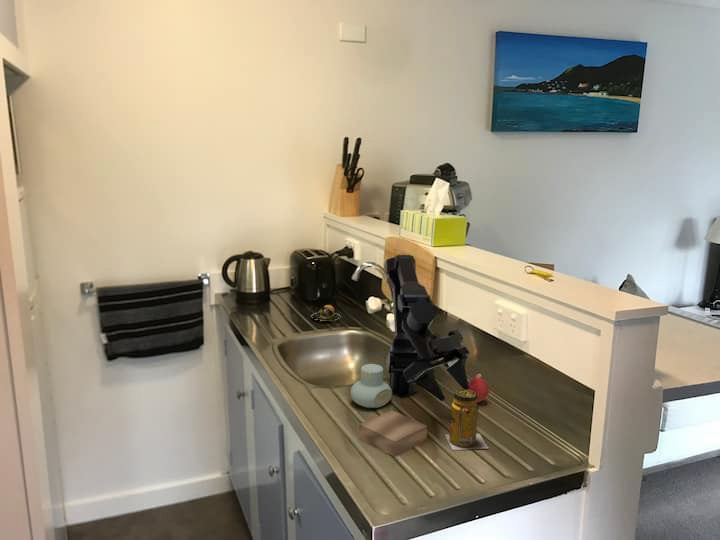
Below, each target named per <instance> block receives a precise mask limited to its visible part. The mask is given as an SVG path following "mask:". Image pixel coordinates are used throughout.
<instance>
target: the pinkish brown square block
mask: <svg viewBox="0 0 720 540" xmlns="http://www.w3.org/2000/svg"><path fill="white" fill-rule="evenodd" d="M358 427H359V433H358V435H359V436H358V439H359V440H360V441H363V442H365V443H367V444H369V445H371V446H373V447H375V448H376V449H379V450H381V451H382V452H384V453H387V454H388V455H390V456H392V457H394V458H395V457H397V456H399V455H401V454H404V453H405V452H407V451H409V450H411V449H414V447H417V446H418V445H420V444H423V443H424V442H426V441H427V437H428V436H427V435H428V426H427V425H426V424H423V423H421V422H419V421H417V420H415V419H412V418H410V417H407V416H405V415H404V414H402V413H399V412H397V411H394V410H393V409H392V410H389V411H387V412H384V413H382V414H380V415H377V416H375V417H373V418H370V419H368V420H365V421H364V422H360V423H359V426H358Z"/></svg>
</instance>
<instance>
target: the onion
mask: <svg viewBox="0 0 720 540" xmlns="http://www.w3.org/2000/svg"><path fill="white" fill-rule="evenodd" d="M468 385H469V389H468V390H470V391H473V392H475V393H476V394H477V404H478V403H480V402H481V401H484V400H485V399H486V398H487V397H488V396H489V392H490V391H489V389H490V388H489V386H488V382H487V381H485V379H483V378H482V374H481V373H479V374H477V375H476V376H474V377H473V378H471V379H470V380H469V381H468Z"/></svg>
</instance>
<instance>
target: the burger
mask: <svg viewBox="0 0 720 540" xmlns="http://www.w3.org/2000/svg"><path fill="white" fill-rule="evenodd" d="M332 303H333V302H332ZM332 303H331V304H326V305H324V306H323V309H322V308H320V310H319V311H318V312H314V313H312V314H311V315H310V317H311V318H312V319H313V317H312V316H313V315H314V314H317V313H320V317H321V318H323V319H331V318H332V316H334V314H337V315H339V316H340V318H341V319H342V316H341V314H339V313H337V312H335V308H334V306H332ZM340 318H338V319H340ZM338 319H335V320H320V321H319V322H322V321H330V322H331V321H335V322H337V320H338ZM314 320H315V321H317V320H318V319H314ZM330 322H329V323H330Z"/></svg>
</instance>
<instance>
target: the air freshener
mask: <svg viewBox="0 0 720 540" xmlns="http://www.w3.org/2000/svg"><path fill="white" fill-rule="evenodd" d="M389 385H390V384H388V383H387V382H385V381H384V368H383V366H382V365H380V364H375V363H367V364H366V363H365V364H364V365H362V366H361V367H360V380H358V381H356V382H355V383H354V384H353V385H352V386H351V388H350V397H351V399H352V401H354V403H356V404H357V405H359V406H361V407H363V408H368V409H378V408H381V407H383V406H385V405H386V404H388V402H390V400H391V399H392V397H393V393H392V390H391V388H390V386H389Z"/></svg>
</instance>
